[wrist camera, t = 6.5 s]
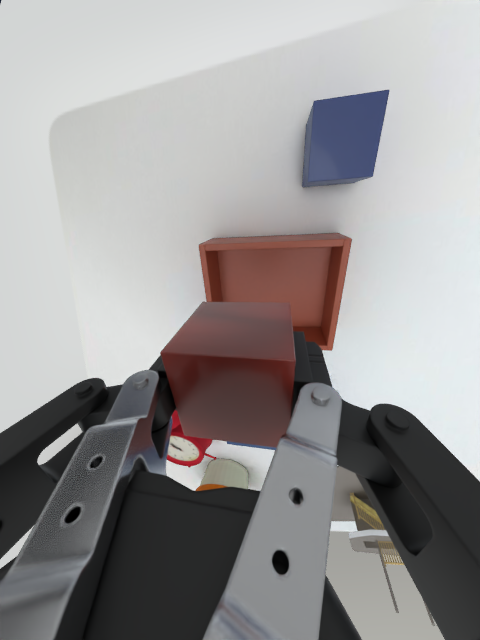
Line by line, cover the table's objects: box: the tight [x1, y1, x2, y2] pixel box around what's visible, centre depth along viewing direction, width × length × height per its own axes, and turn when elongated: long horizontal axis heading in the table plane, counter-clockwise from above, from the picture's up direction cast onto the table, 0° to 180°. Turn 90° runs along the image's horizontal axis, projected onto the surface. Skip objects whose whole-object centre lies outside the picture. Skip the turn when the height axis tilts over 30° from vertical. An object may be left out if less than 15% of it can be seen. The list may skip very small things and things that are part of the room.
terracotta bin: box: [199, 233, 352, 350], centre depth 23 cm, size 13×11×4 cm
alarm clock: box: [167, 410, 216, 467], centre depth 39 cm, size 10×6×15 cm
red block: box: [160, 302, 296, 448], centre depth 10 cm, size 4×4×4 cm
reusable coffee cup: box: [196, 459, 248, 491], centre depth 39 cm, size 13×13×15 cm
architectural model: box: [331, 466, 435, 626], centre depth 35 cm, size 21×25×14 cm
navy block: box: [302, 90, 389, 187], centre depth 16 cm, size 4×4×4 cm
